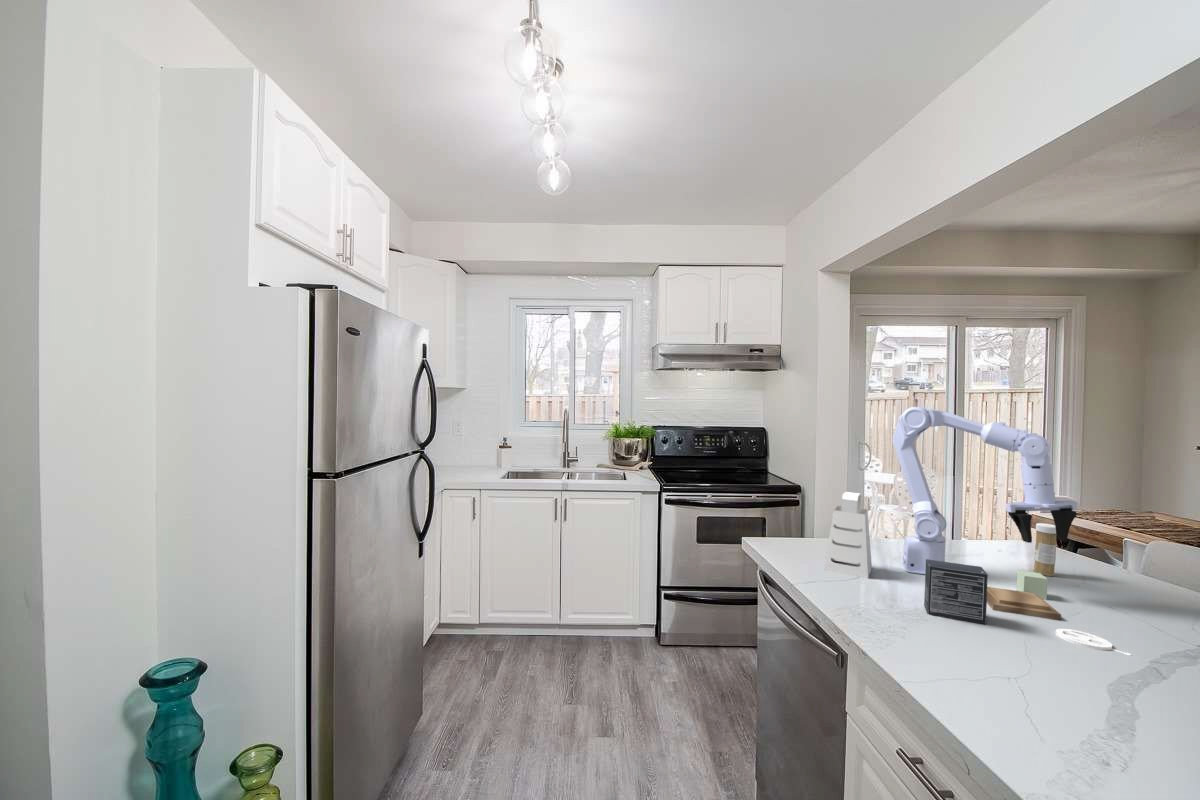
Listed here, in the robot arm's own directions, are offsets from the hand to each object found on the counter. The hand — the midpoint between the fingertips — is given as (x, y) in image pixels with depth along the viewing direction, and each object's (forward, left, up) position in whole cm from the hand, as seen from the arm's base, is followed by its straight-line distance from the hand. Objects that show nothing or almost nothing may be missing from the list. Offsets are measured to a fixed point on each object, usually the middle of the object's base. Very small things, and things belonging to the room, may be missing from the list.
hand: (1044, 541), depth 128 cm
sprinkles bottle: (+8, +21, -13) cm, 26 cm away
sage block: (-2, -1, -13) cm, 13 cm away
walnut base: (-8, -11, -13) cm, 19 cm away
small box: (-23, -24, -13) cm, 36 cm away
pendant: (-1, -28, -14) cm, 31 cm away
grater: (-42, -1, -13) cm, 44 cm away
